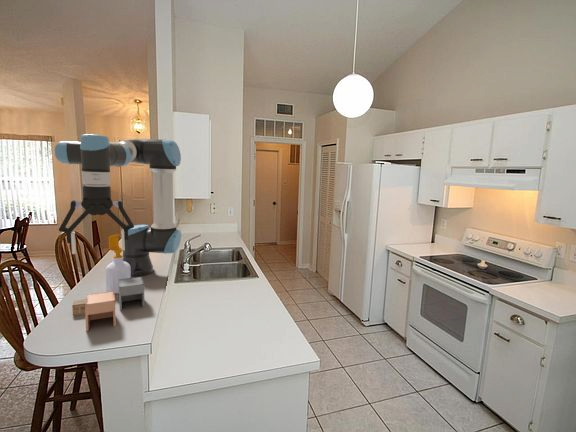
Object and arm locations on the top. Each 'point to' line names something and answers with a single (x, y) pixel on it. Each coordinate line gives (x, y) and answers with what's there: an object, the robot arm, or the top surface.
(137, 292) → the slate cover
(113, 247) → the soap bottle
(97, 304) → the terracotta cover
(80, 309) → the letter cube
